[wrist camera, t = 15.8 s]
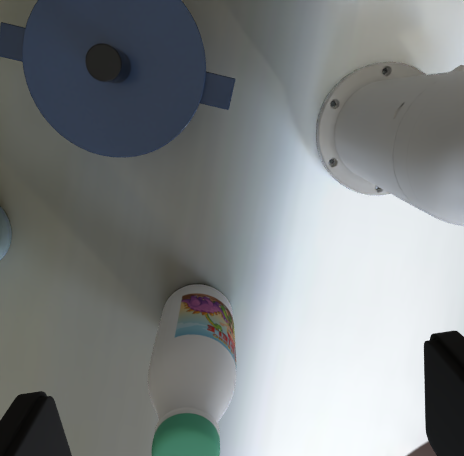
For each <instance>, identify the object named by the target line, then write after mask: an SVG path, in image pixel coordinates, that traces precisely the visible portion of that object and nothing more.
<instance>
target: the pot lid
mask: <svg viewBox="0 0 464 456" xmlns="http://www.w3.org/2000/svg"><path fill="white" fill-rule="evenodd" d="M22 59H23V69H24V74H25V78H26V82H27V85H28V88H29V91H30V94H31V96H32V98H33V100H34V102H35V104H36V106H37V107H38V109H39V110H40V112H41V114H42V115H43V117H44V118H45V119H46V120H47V121H48V123H49V124H50V125H51V126H52V127H53V128H54V129H55V130H56V131H57V132H58V133H59V134H60V135H62V136H63V137H64V138H66V139H67V140H68V141H70V142H71V143H73V144H75V145H77V146H78V147H80V148H82V149H85V150H87V151H89V152H92V153H96V154H99V155H103V156H109V157H134V156H139V155H143V154H147V153H150V152H152V151H155V150H157V149H159V148H161V147H163V146H164V145H166V144H168V143H169V142H170V141H172V140H173V139H174V138H175V137H177V136H178V135H179V134H180V133H181V132H182V131H183V130H184V128H185V127H186V126H187V125H188V123H189V122H190V121H191V119H192V117H193V116H194V114H195V112H196V110H197V108H198V106H199V103H200V101H201V98H202V94H203V90H204V85H205V78H206V60H205V51H204V47H203V43H202V38H201V36H200V33H199V30H198V28H197V25H196V23H195V21H194V19H193V17H192V15H191V13H190V12H189V11H188V9H187V8H186V6H185V5H184V3H183V2H182V1H181V0H38V1H37V3H36V4H35V6H34V8H33V10H32V12H31V14H30V16H29V19H28V21H27V25H26V28H25V32H24V38H23V48H22Z"/></svg>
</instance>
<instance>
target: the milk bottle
mask: <svg viewBox="0 0 464 456" xmlns="http://www.w3.org/2000/svg"><path fill="white" fill-rule="evenodd" d="M235 385H236V350H235V334H234V321H233V313H232V308H231V305H230V303H229V301H228V300H227V298H226V297H225V296H224V295H223V294H222V293H221V292H220V291H218V290H217V289H215V288H212V287H210V286H207V285H201V284H194V285H188V286H185V287H183V288H180V289H179V290H177V291H175V292H174V293H173V294H172V295H171V296H170V297H169V298H168V300H167V301H166V303H165V306H164V309H163V312H162V315H161V319H160V323H159V327H158V331H157V335H156V339H155V343H154V347H153V352H152V356H151V360H150V366H149V372H148V389H149V395H150V399H151V402H152V405H153V407H154V409H155V411H156V413H157V415H158V418H159V421H158V423H157V425H156V428H155V435H154V439H153V444H152V456H219V455H220V438H219V437H220V430H219V426H218V422H219V420H220V418H221V417H222V416H223V414H224V413H225V411H226V410H227V408H228V406H229V404H230V402H231V400H232V397H233V394H234V390H235Z"/></svg>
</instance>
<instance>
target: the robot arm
mask: <svg viewBox="0 0 464 456" xmlns="http://www.w3.org/2000/svg"><path fill="white" fill-rule="evenodd" d="M383 69H385V70H386V73H385V74H383V73H382V70H383ZM332 101H334V102H335V105H334V106H333V107H332V106H331V102H332ZM316 139H317V148H318V151H319V155H320V158H321V160H322V162H323V164H324V166H325V168H326V169H327V171H328V172H329V173H330V174H331V176H332V177H333V178H334V179H335V180H337V181H338V182H339V183H340V184H342V185H343V186H345V187H346V188H348V189H350V190H352V191H355V192H357V193H361V194H366V195H374V196H381V195H387V194H392V195H394V196H396V197H398V198H399V199H401V200H403V201H405V202H407V203H409V204H410V205H412V206H414V207H416V208H418V209H419V210H422V211H424V212H425V213H427V214H429V215H431V216H433V217H435V218H437V219H439V220H442V221H444V222H447V223H451V224H455V225H460V226H464V65H460V66H459V67H457V68H455V69H454V70H452V71H451V72H448V73H439V74H430V75H426V74H425V73H423V72H422V71H420V70H418V69H417V68H415V67H412V66H409V65H406V64H403V63H396V62H383V63H375V64H371V65H367V66H365V67H362V68H360V69H357V70H355V71H354V72H352V73H351V74H349V75H348V76H346V77H345V78H343V79H342V80H341V81H340V82H339V83H338V84H337V85H336V86H335V87H334V88H333V90H332V91H331V92H330V94H329V95H328V96H327V98H326V100H325V102H324V104H323V106H322V108H321V111H320V114H319V118H318V121H317V130H316ZM330 159H333V163H332V164H330V163H329V160H330ZM376 186H378V188H377V189H376ZM424 375H425V420H426V434H427V437H428V440H429V443H430V445H431V446H432V448H433V450H434V452H435V453H436V455H437V456H464V337H463V336H462V335H461V334H460V333H459V332H457V331H449V332H442V333H435V334H432V335H431V337H430V340H429V341H425V343H424ZM0 456H72V455H71V452H70V448H69V445H68V442H67V439H66V436H65V433H64V429H63V426H62V423H61V420H60V417H59V414H58V411H57V407H56V404H55V401H54V399H53V398H52V397H51V396H48V397H47V395H46V393H45V392H42V391H40V392H34V393H27V394H21V395H18V396H17V397H16V398H15V400H14V401H13V403H12V404H11V406H10V407H9V409H8V410H7V412H6V413H5V415H4V416H3V418H2V419H1V421H0Z"/></svg>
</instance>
